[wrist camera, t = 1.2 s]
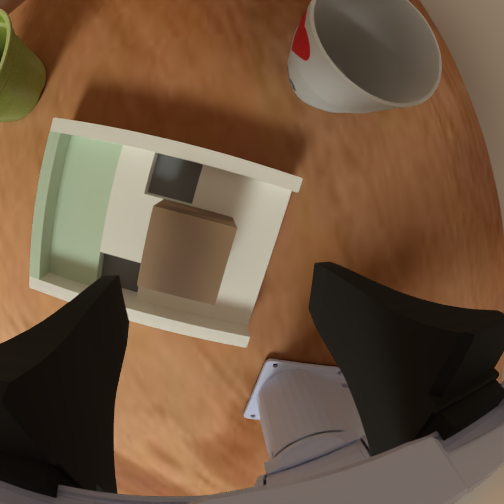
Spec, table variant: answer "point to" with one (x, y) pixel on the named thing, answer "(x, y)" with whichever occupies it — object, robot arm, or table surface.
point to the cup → (363, 56)
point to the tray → (138, 217)
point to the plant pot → (17, 74)
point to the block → (186, 251)
